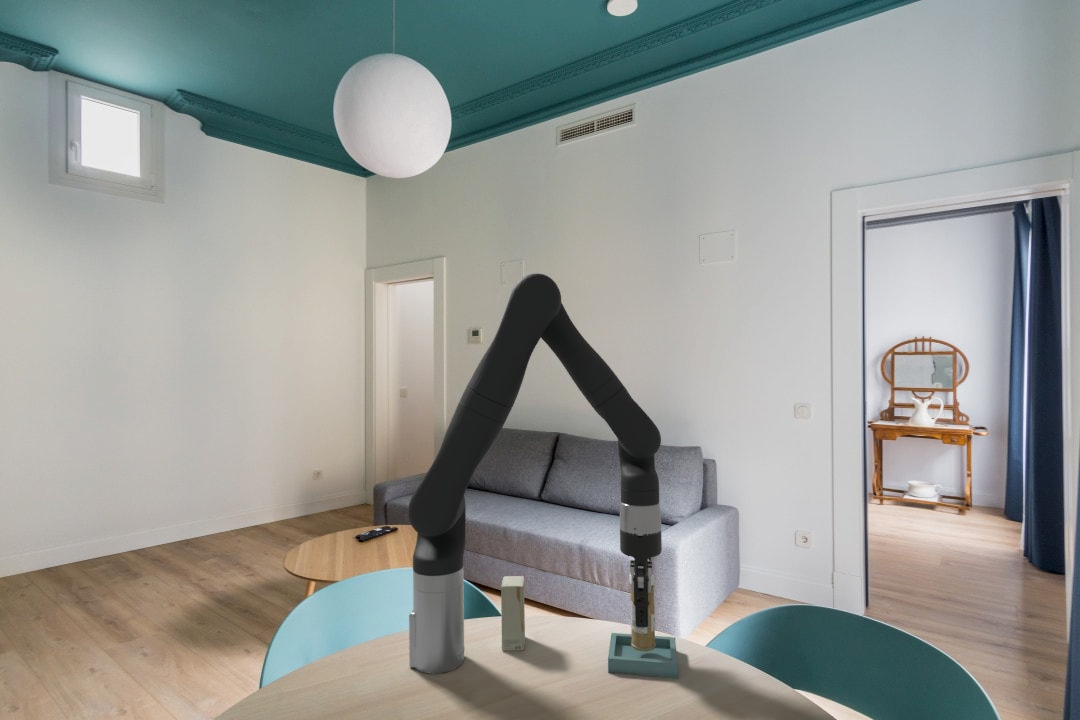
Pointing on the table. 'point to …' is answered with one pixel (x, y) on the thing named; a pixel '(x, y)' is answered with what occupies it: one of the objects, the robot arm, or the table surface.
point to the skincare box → (513, 613)
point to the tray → (643, 657)
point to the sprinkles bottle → (646, 635)
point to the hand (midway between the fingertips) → (642, 619)
